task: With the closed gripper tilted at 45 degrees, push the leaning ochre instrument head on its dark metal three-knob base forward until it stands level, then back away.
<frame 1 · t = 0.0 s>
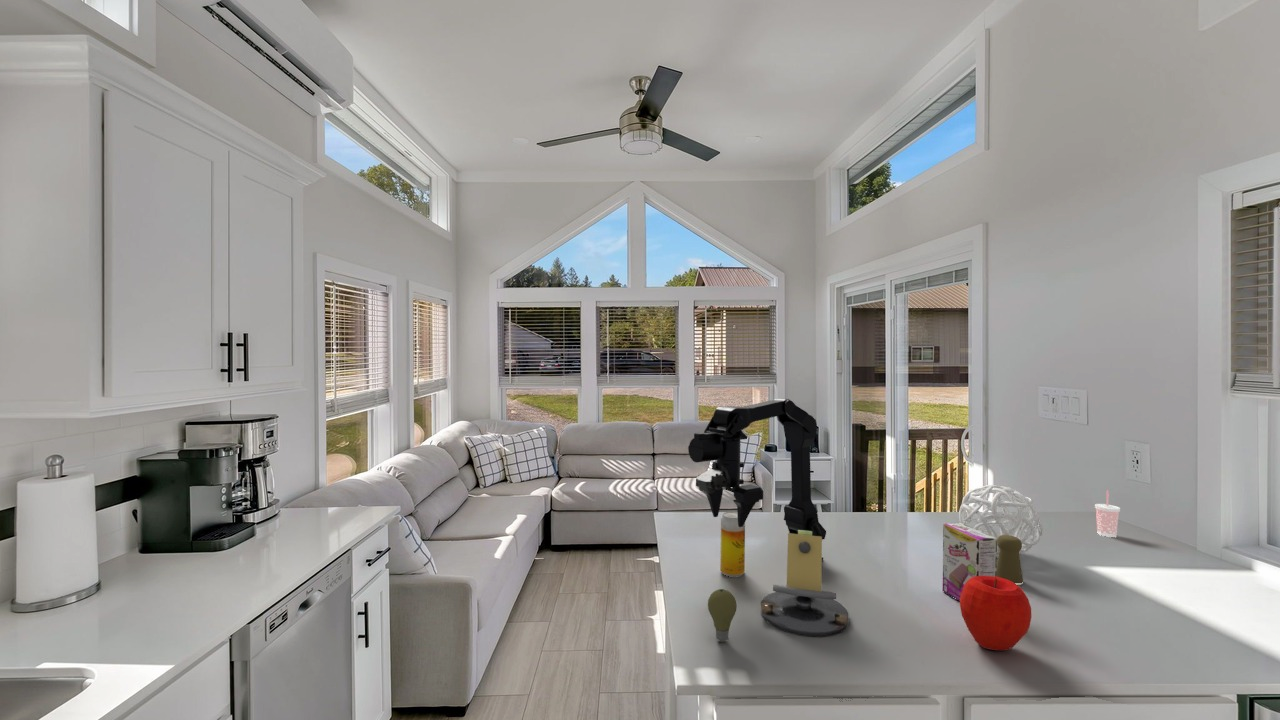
hand: (727, 521, 137), 15 cm above the kitchen counter, tool pointing down, fingers open, 9 cm apart
brown rounded upright piece: (1008, 581, 139), on the kitchen counter
apple: (993, 648, 107), on the kitchen counter
instrument head: (803, 596, 119), point 4 cm above the kitchen counter, hinge at -20.0°
light bulb: (721, 642, 109), on the kitchen counter
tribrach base: (803, 615, 120), on the kitchen counter
decorative ball: (997, 556, 156), on the kitchen counter
beer can: (732, 574, 142), on the kitchen counter
candy bar box: (967, 602, 127), on the kitchen counter
beverage cup: (1106, 535, 174), on the kitchen counter
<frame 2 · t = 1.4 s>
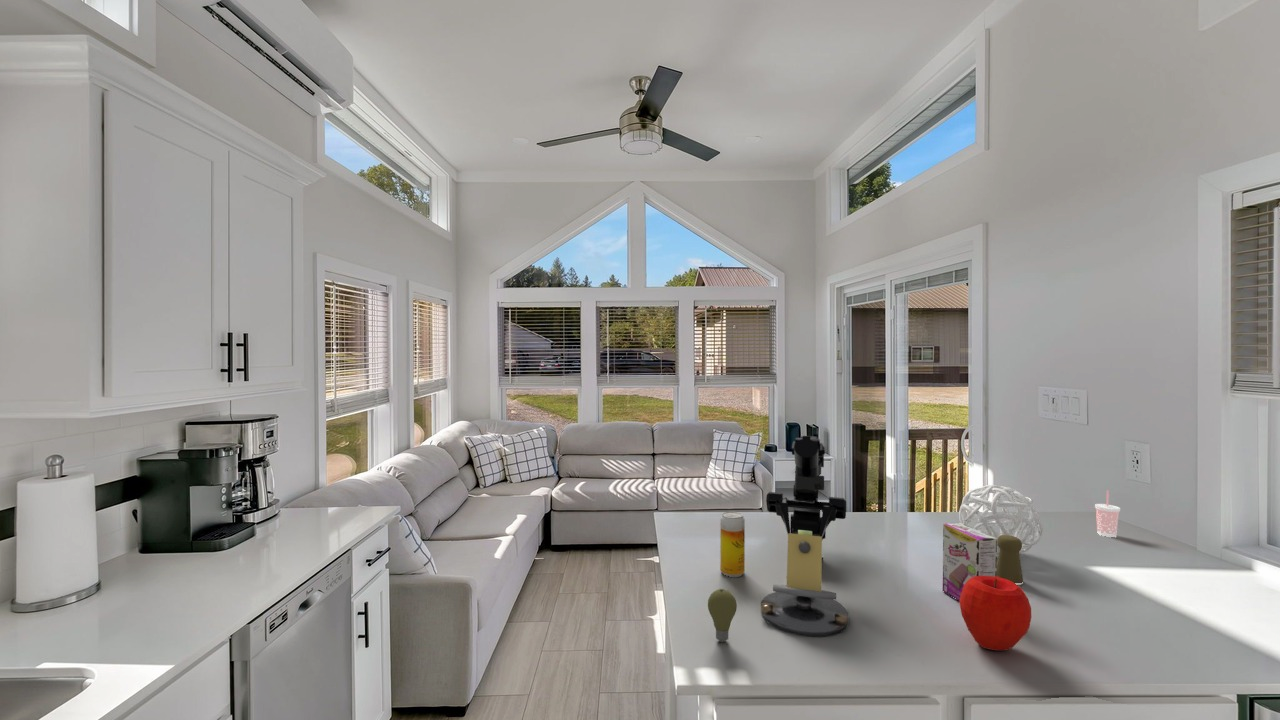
hand: (804, 537, 132), 12 cm above the kitchen counter, tool tilted 45°, fingers open, 7 cm apart
nothing on the kitchen counter moved.
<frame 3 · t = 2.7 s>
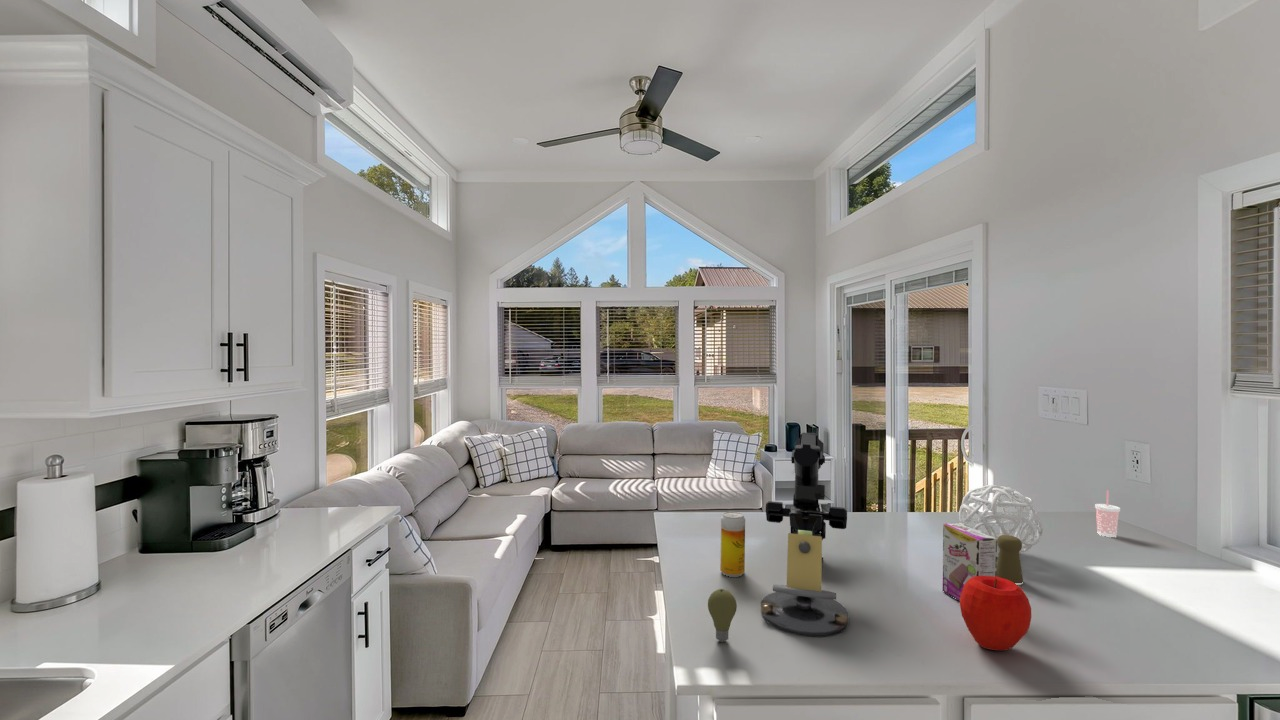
hand: (804, 547, 130), 11 cm above the kitchen counter, tool tilted 45°, fingers closed
nothing on the kitchen counter moved.
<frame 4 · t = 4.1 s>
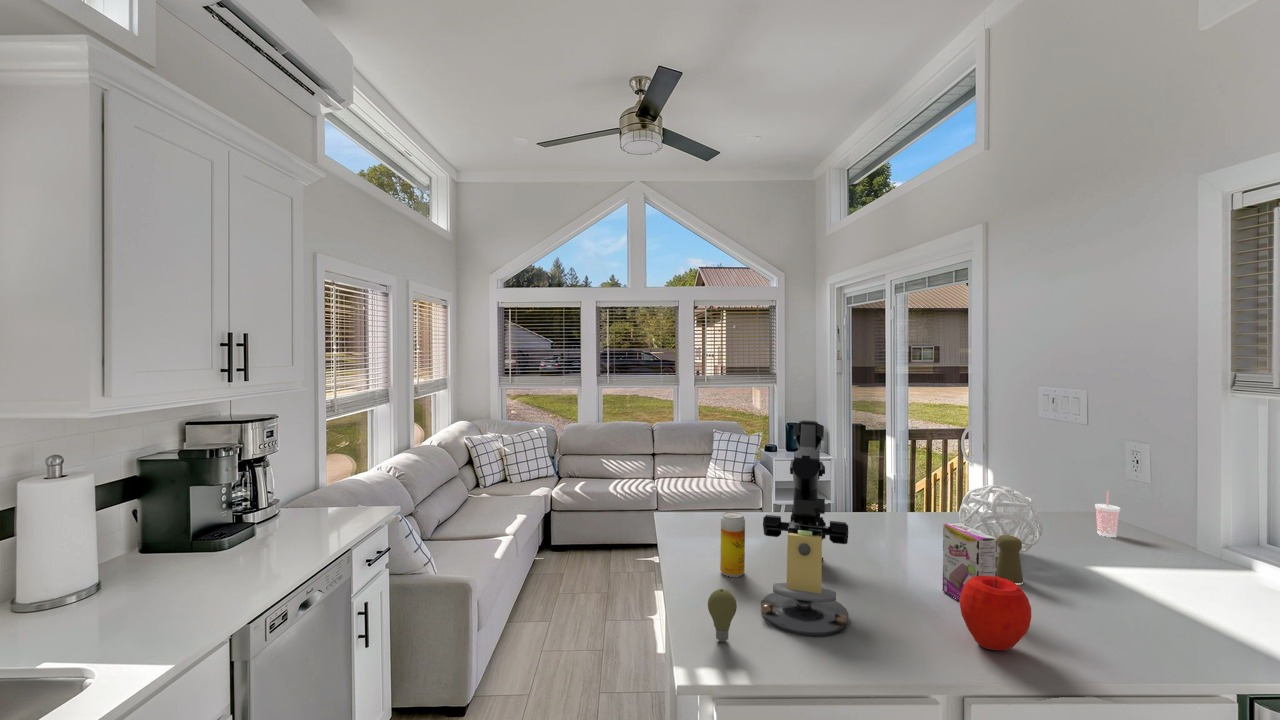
hand: (803, 564, 124), 9 cm above the kitchen counter, tool tilted 45°, fingers closed, pressing on instrument head
instrument head: (803, 596, 119), point 4 cm above the kitchen counter, hinge at -13.6°, touching gripper
everything else where it was.
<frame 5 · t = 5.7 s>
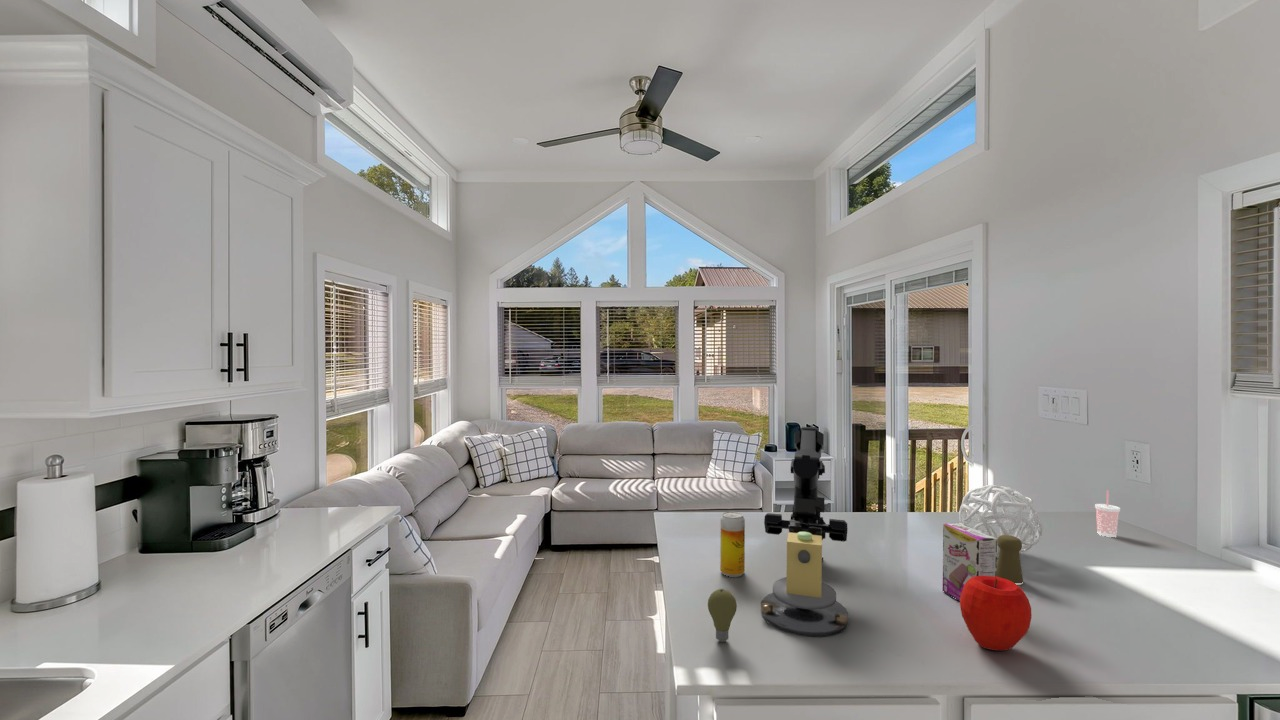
hand: (804, 561, 127), 9 cm above the kitchen counter, tool tilted 45°, fingers closed
instrument head: (803, 596, 119), point 4 cm above the kitchen counter, hinge at 1.0°
everything else where it was.
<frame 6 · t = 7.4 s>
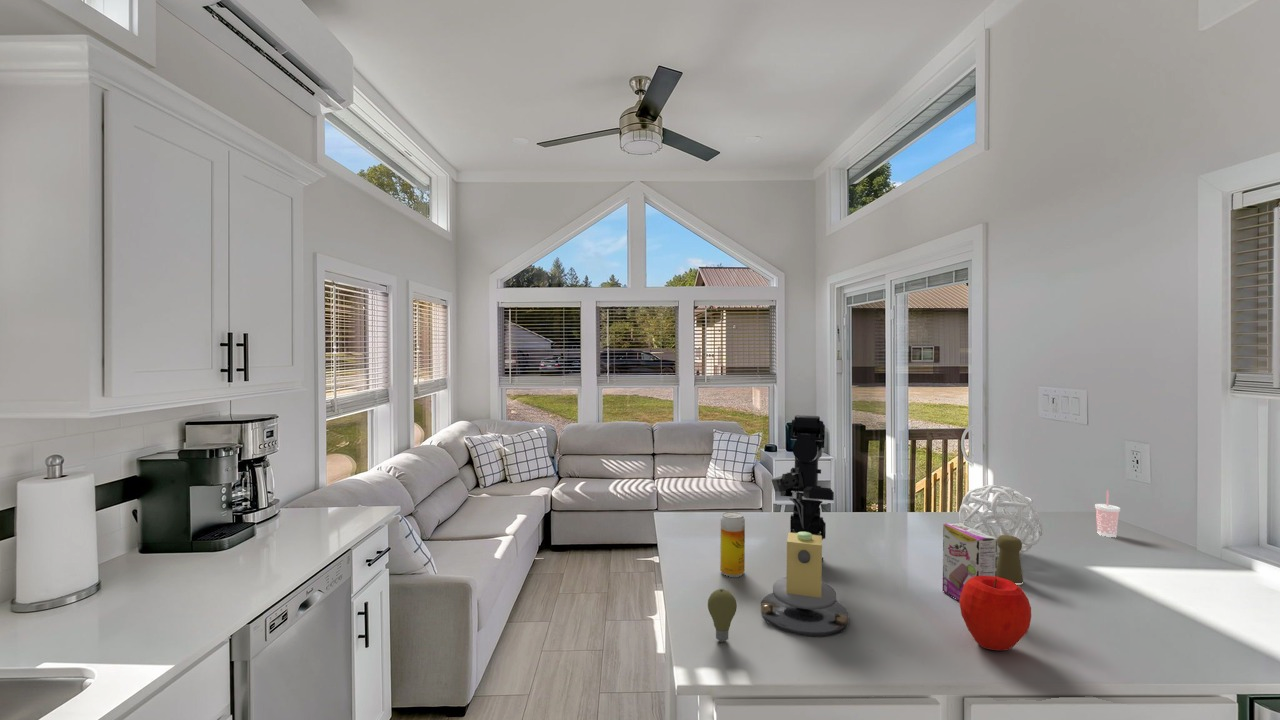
hand: (805, 528, 139), 13 cm above the kitchen counter, tool pointing down, fingers closed
nothing on the kitchen counter moved.
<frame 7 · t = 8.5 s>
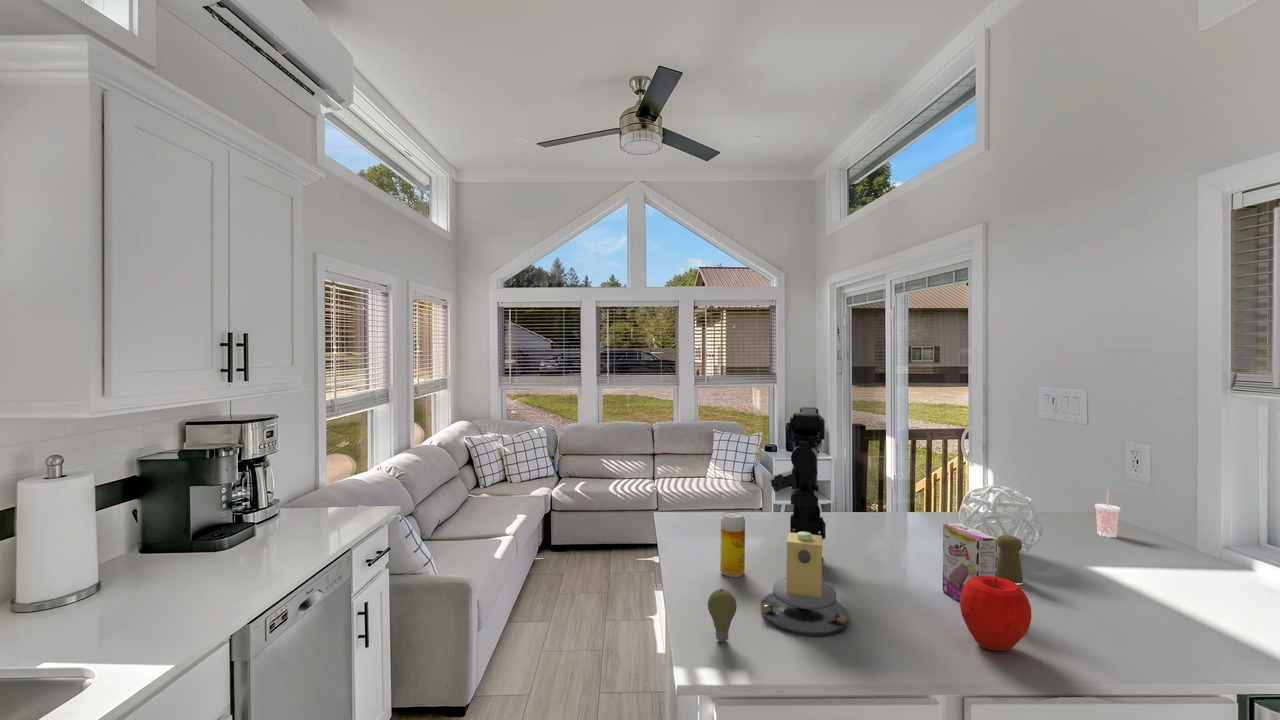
hand: (804, 525, 140), 13 cm above the kitchen counter, tool pointing down, fingers closed
nothing on the kitchen counter moved.
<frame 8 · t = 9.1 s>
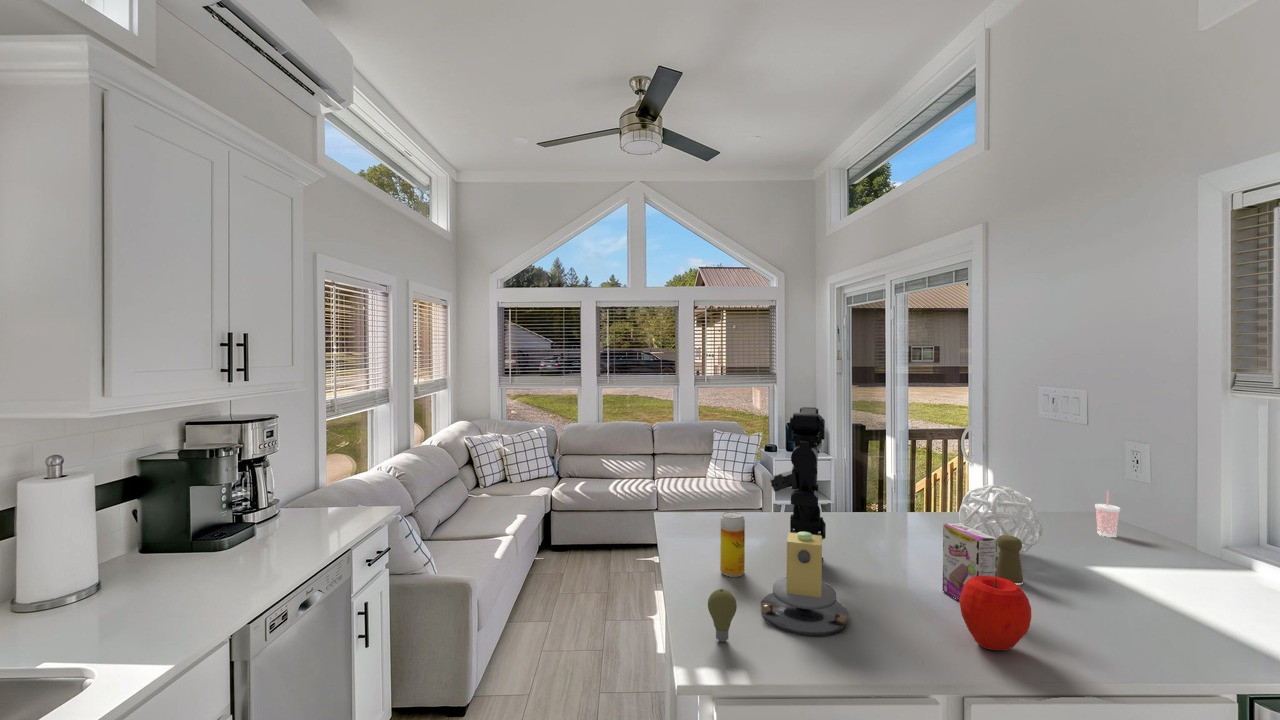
hand: (804, 525, 140), 13 cm above the kitchen counter, tool pointing down, fingers closed
nothing on the kitchen counter moved.
at the end: instrument head at +1° (first picture: -20°) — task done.
